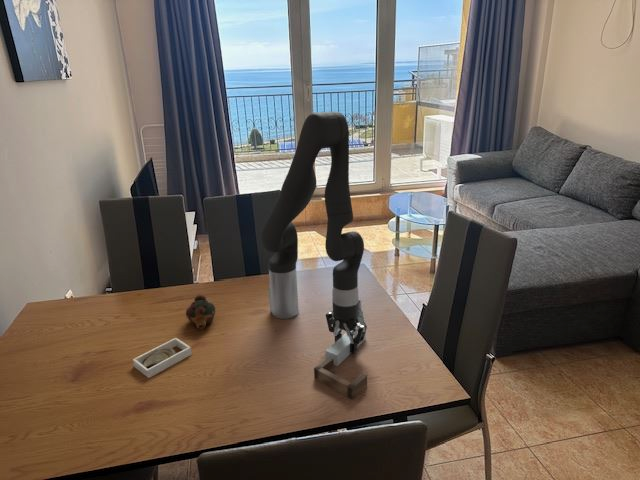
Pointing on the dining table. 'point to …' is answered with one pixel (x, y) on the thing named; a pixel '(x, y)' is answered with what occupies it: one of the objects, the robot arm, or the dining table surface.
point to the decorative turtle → (200, 311)
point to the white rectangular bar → (340, 349)
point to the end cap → (339, 379)
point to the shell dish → (166, 363)
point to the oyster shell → (158, 356)
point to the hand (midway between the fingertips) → (346, 348)
